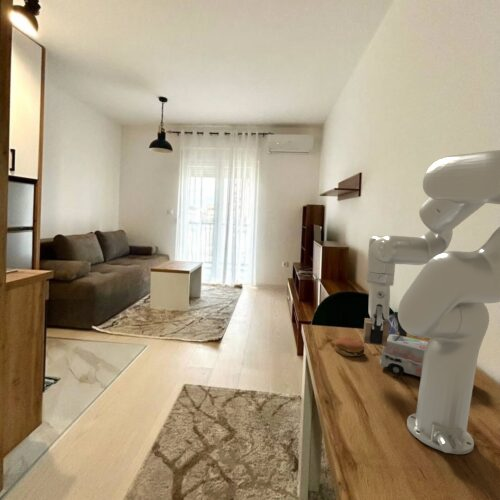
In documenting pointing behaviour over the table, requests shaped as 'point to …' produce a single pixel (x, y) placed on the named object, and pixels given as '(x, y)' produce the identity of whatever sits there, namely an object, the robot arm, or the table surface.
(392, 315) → the decorative emblem
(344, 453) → the table surface
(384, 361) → the toy car
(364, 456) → the table surface
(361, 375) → the table surface
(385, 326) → the light brown cube
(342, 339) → the burger
